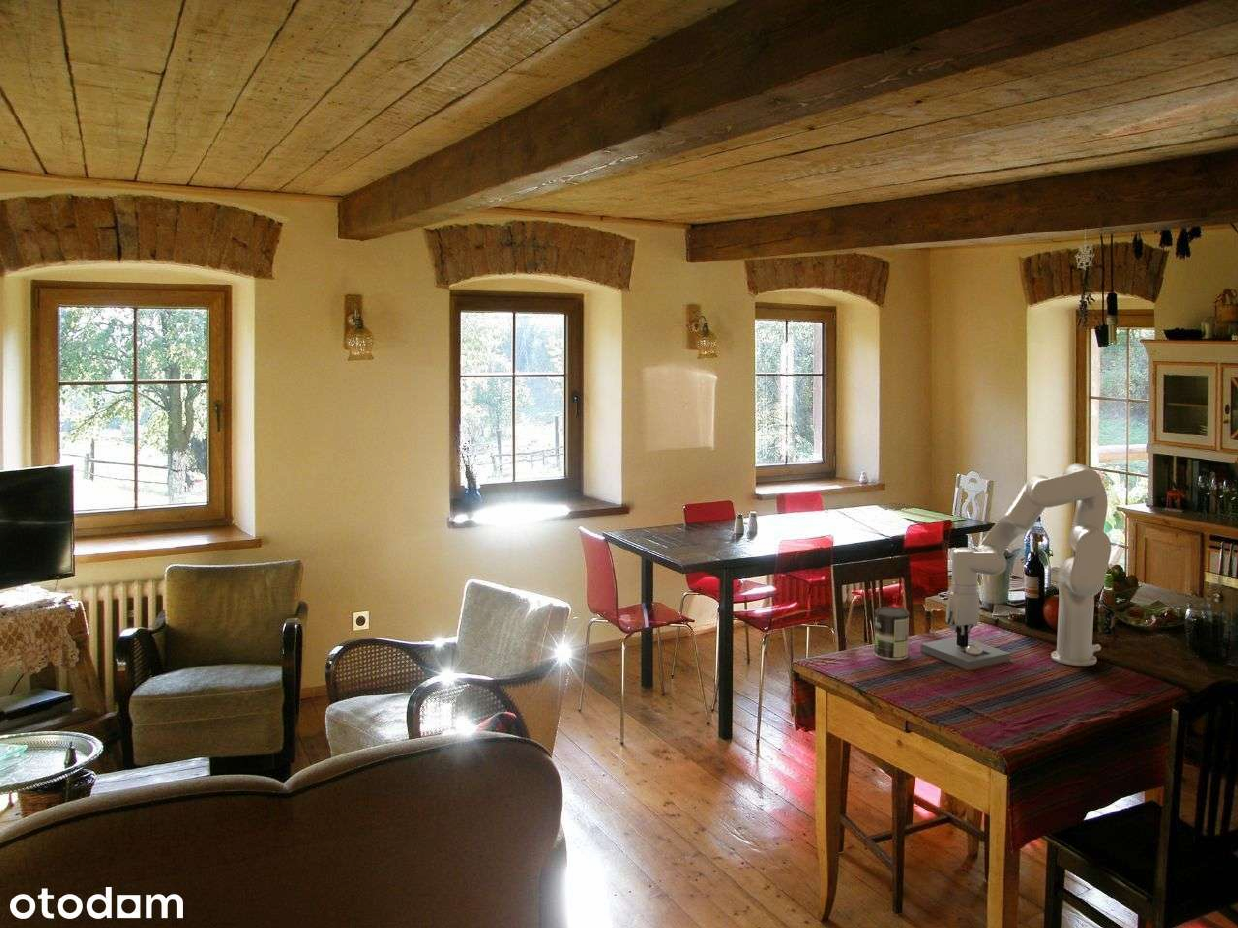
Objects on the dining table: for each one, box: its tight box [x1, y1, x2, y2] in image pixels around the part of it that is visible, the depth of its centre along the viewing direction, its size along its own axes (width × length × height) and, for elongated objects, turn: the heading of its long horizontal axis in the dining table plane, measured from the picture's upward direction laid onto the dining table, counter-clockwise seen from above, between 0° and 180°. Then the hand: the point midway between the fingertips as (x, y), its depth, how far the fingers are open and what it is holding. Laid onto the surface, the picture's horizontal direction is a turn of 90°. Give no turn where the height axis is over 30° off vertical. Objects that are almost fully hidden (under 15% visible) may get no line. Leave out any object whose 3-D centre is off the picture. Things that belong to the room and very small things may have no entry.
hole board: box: [920, 635, 1011, 671], centre depth 311 cm, size 17×20×2 cm
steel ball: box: [965, 644, 983, 657], centre depth 307 cm, size 5×5×5 cm
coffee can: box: [873, 606, 911, 661], centre depth 312 cm, size 10×10×14 cm
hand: (962, 645), depth 312 cm, fingers closed
